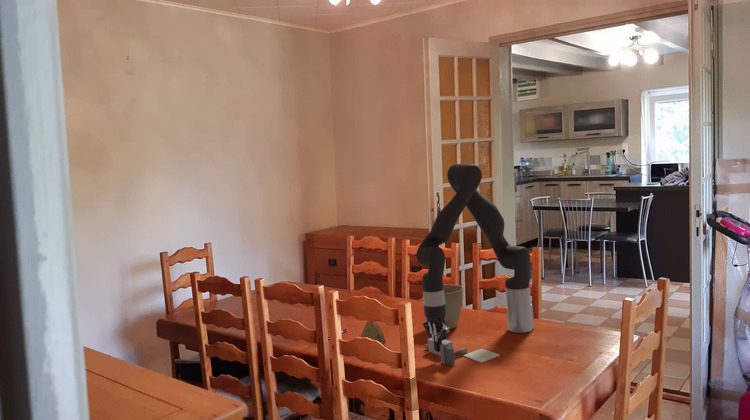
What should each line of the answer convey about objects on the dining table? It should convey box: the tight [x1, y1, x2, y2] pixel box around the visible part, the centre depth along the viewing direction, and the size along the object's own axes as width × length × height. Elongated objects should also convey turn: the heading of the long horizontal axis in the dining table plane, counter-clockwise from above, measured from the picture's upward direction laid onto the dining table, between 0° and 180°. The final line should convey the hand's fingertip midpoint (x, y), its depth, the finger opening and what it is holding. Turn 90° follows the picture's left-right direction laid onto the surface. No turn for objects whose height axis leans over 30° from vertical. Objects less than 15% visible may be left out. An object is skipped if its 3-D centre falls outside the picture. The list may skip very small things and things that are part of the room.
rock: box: [360, 321, 386, 345], centre depth 220 cm, size 11×9×10 cm
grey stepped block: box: [440, 343, 456, 367], centre depth 194 cm, size 2×5×7 cm, turn 33°
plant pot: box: [443, 284, 464, 329], centre depth 234 cm, size 15×15×16 cm
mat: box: [462, 348, 501, 364], centre depth 199 cm, size 9×9×1 cm
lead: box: [427, 337, 454, 357], centre depth 205 cm, size 4×9×5 cm, turn 33°
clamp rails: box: [424, 343, 468, 359], centre depth 206 cm, size 8×14×2 cm, turn 33°
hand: (438, 350), depth 198 cm, fingers closed
